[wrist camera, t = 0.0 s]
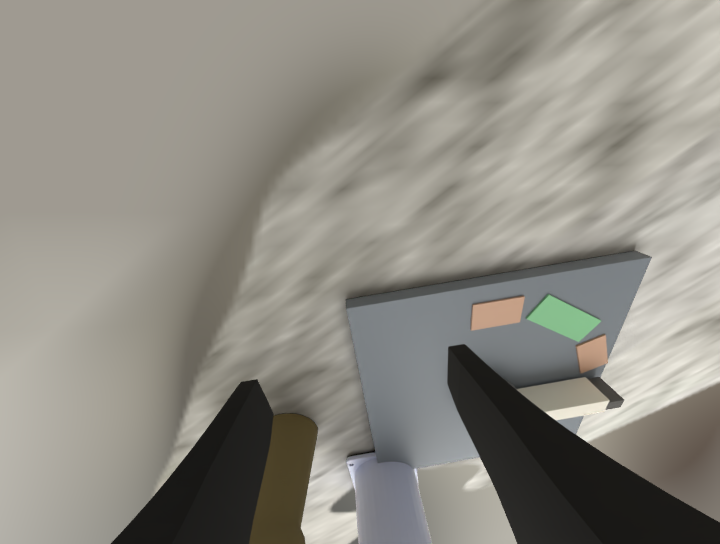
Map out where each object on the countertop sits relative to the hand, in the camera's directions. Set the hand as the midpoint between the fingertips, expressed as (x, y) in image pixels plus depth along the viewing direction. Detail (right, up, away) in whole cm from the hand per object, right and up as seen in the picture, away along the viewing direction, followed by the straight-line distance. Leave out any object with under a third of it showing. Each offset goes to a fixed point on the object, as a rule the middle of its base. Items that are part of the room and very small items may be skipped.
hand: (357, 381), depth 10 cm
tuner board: (+12, -7, +16) cm, 21 cm away
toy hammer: (+16, -7, +15) cm, 24 cm away
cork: (-7, -12, +17) cm, 23 cm away
